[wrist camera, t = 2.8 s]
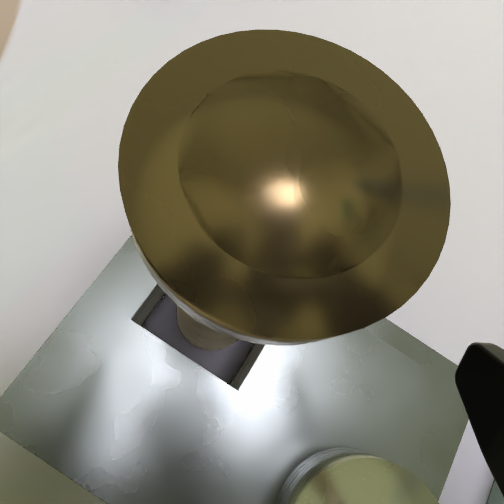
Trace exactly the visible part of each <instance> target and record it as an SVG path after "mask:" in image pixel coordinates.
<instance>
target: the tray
mask: <svg viewBox="0 0 504 504" xmlns="http://www.w3.org/2000/svg"><path fill="white" fill-rule="evenodd" d="M487 504H504V497H503V495H502V493H501V491H500V489H499V487H498V485H497V483H496V481H494V484H493V487H492V490H491V493H490V496H489V499H488V502H487Z"/></svg>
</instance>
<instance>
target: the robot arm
mask: <svg viewBox="0 0 504 504" xmlns="http://www.w3.org/2000/svg"><path fill="white" fill-rule="evenodd" d="M455 384H456V387H457V389H458V392H459V395H460V397H461V400H462V402H463V405H464V407H465V410H466V413H467V415H468V418H469V420H470V423H471V426H472V428H473V431H474V433H475V436H476V439H477V441H478V444H479V446H480V449H481V451H482V453H483V456H484V458H485V460H486V462H487V464H488V467H489V469H490V471H491V473H492V475H493V477H494V479H495V481H496V483H497V485H498V487H499V489H500V491H501V493H502V495H503V497H504V349H502V348H500V347H498V346H497V345H494V344H491V343H477V342H476V343H472V344H471V345H469V346H468V348H467V350H466V352H465V354H464V356H463V358H462V359H461V361H460V363H459V365H458V367H457V369H456V372H455Z"/></svg>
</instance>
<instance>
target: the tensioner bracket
mask: <svg viewBox="0 0 504 504" xmlns="http://www.w3.org/2000/svg"><path fill="white" fill-rule="evenodd" d="M164 293H165V292H164V291H163V290H162V289H161V287H160V286H159V285H158V284H157V282H156V281H155V280H154V278H153V277H152V276H151V274H150V272H149V271H148V269H147V267H146V265H145V263H144V262H143V260H142V258H141V256H140V254H139V251H138V248H137V246H136V243H135V241H134V238H133V235H131V237H130V238H129V239H128V240H127V241H126V243H125V244H124V245H123V246H122V248H121V249H120V250H119V251H118V253H117V254H116V255H115V256H114V258H113V259H112V260H111V261H110V263H109V264H108V265H107V266H106V267H105V269H104V270H103V271H102V272H101V274H100V275H99V276H98V277H97V279H96V280H95V281H94V282H93V284H92V285H91V286H90V287H89V289H88V290H87V291H86V292H85V294H84V295H83V296H82V297H81V298H80V300H79V301H78V302H77V303H76V305H75V306H74V307H73V308H72V310H71V311H70V312H69V313H68V315H67V316H66V317H65V318H64V320H63V321H62V322H61V323H60V324H59V326H58V327H57V328H56V329H55V331H54V332H53V333H52V334H51V336H50V337H49V338H48V339H47V341H46V342H45V343H44V344H43V346H42V347H41V348H40V349H39V350H38V352H37V353H36V354H35V355H34V357H33V358H32V359H31V360H30V362H29V363H28V364H27V365H26V367H25V368H24V369H23V370H22V372H21V373H20V374H19V375H18V377H17V378H16V379H15V380H14V381H13V383H12V384H11V385H10V386H9V388H8V389H7V390H6V391H5V393H4V394H3V395H2V396H1V398H0V432H2V433H3V434H5V435H6V436H8V437H9V438H11V439H12V440H14V441H15V442H17V443H18V444H20V445H21V446H23V447H24V448H26V449H27V450H28V451H30V452H31V453H33V454H34V455H36V456H37V457H39V458H40V459H42V460H43V461H45V462H46V463H48V464H49V465H51V466H52V467H54V468H55V469H57V470H58V471H60V472H61V473H63V474H64V475H66V476H67V477H69V478H70V479H71V480H73V481H74V482H76V483H77V484H79V485H80V486H82V487H83V488H85V489H86V490H88V491H89V492H91V493H92V494H94V495H95V496H97V497H98V498H100V499H101V500H103V501H104V502H106V503H107V504H439V503H438V500H439V497H440V495H441V492H442V489H443V487H444V484H445V481H446V479H447V476H448V473H449V471H450V468H451V465H452V462H453V460H454V457H455V454H456V452H457V449H458V446H459V444H460V441H461V438H462V436H463V433H464V430H465V428H466V425H467V422H468V419H469V418H468V415H467V413H466V410H465V407H464V405H463V402H462V400H461V397H460V395H459V392H458V389H457V387H456V384H455V372H456V369H457V367H458V366H457V365H456V364H454V363H453V362H451V361H450V360H448V359H447V358H445V357H444V356H442V355H441V354H439V353H438V352H436V351H435V350H433V349H432V348H430V347H428V346H427V345H425V344H424V343H422V342H421V341H419V340H418V339H416V338H415V337H413V336H412V335H410V334H409V333H407V332H406V331H404V330H403V329H401V328H400V327H398V326H396V325H395V324H393V323H392V322H390V321H389V320H387V319H386V318H384V319H382V320H380V321H378V322H376V323H374V324H372V325H369V326H367V327H365V328H363V329H360V330H356V331H353V332H350V333H347V334H344V335H340V336H336V337H332V338H329V339H325V340H321V341H317V342H313V343H306V344H300V345H283V346H274V345H265V344H257V343H255V345H254V346H253V348H252V350H251V351H250V353H249V354H248V356H247V358H246V359H245V361H244V363H243V364H242V366H241V368H240V369H239V371H238V373H237V374H236V376H235V378H234V379H233V381H232V383H231V384H230V385H228V384H227V383H225V382H224V381H222V380H221V379H219V378H218V377H216V376H215V375H213V374H212V373H210V372H209V371H207V370H206V369H204V368H203V367H201V366H200V365H198V364H197V363H195V362H194V361H192V360H191V359H189V358H188V357H186V356H185V355H183V354H182V353H180V352H179V351H177V350H176V349H174V348H173V347H171V346H170V345H168V344H167V343H165V342H164V341H162V340H161V339H159V338H158V337H156V336H155V335H153V334H152V333H150V332H149V331H147V330H146V329H144V328H143V327H141V325H142V324H143V322H144V321H145V320H146V318H147V317H148V315H149V314H150V313H151V311H152V310H153V309H154V307H155V306H156V304H157V303H158V302H159V300H160V299H161V298H162V296H163V295H164Z"/></svg>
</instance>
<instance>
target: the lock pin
mask: <svg viewBox="0 0 504 504" xmlns="http://www.w3.org/2000/svg"><path fill="white" fill-rule="evenodd" d="M118 171H119V184H120V191H121V195H122V200H123V204H124V208H125V212H126V215H127V219H128V222H129V225H130V228H131V232H132V235H133V238H134V241H135V243H136V246H137V248H138V251H139V254H140V256H141V258H142V260H143V262H144V263H145V265H146V267H147V269H148V271H149V272H150V274H151V276H152V277H153V278H154V280H155V281H156V282H157V284H158V285H159V286H160V287H161V289H162V290H163V291H164V292H165V293H166V294H167V295H168V296H169V297H170V298H171V299H172V300H173V301H174V302H175V303H176V304H177V321H178V325H179V328H180V330H181V332H182V334H183V335H184V337H185V338H186V339H187V340H188V341H189V342H190V343H191V344H193V345H195V346H196V347H199V348H201V349H205V350H219V349H223V348H226V347H228V346H230V345H231V344H233V343H234V342H236V341H238V340H239V339H240V340H244V341H248V342H251V343H257V344H265V345H274V346H283V345H300V344H306V343H313V342H317V341H321V340H325V339H329V338H332V337H336V336H340V335H344V334H347V333H350V332H353V331H356V330H360V329H363V328H365V327H367V326H369V325H372V324H374V323H376V322H378V321H380V320H382V319H384V318H385V317H387V316H388V315H390V314H391V313H393V312H394V311H396V310H397V309H398V308H400V307H401V306H402V305H403V304H405V303H406V302H407V301H408V300H409V299H410V298H411V297H412V296H413V295H414V294H415V293H416V292H417V291H418V290H419V288H420V287H421V286H422V284H423V283H424V282H425V281H426V279H427V278H428V277H429V275H430V273H431V271H432V270H433V268H434V266H435V264H436V263H437V261H438V259H439V256H440V253H441V251H442V248H443V245H444V243H445V239H446V235H447V230H448V226H449V217H450V205H451V203H450V186H449V180H448V175H447V169H446V165H445V162H444V159H443V155H442V152H441V149H440V147H439V144H438V142H437V140H436V138H435V136H434V133H433V131H432V129H431V128H430V126H429V124H428V123H427V121H426V119H425V118H424V116H423V114H422V113H421V111H420V110H419V109H418V107H417V106H416V105H415V103H414V102H413V101H412V99H411V98H410V97H409V96H408V95H407V94H406V93H405V92H404V91H403V90H402V89H401V87H400V86H399V85H398V84H397V83H395V82H394V81H393V80H392V79H391V78H390V77H389V76H388V75H386V74H385V73H384V72H383V71H382V70H380V69H379V68H377V67H376V66H375V65H373V64H372V63H370V62H369V61H368V60H366V59H364V58H362V57H361V56H359V55H357V54H356V53H354V52H352V51H350V50H348V49H346V48H344V47H341V46H339V45H337V44H335V43H332V42H329V41H326V40H323V39H320V38H318V37H315V36H310V35H306V34H301V33H297V32H290V31H281V30H249V31H239V32H234V33H229V34H225V35H220V36H217V37H214V38H211V39H208V40H206V41H203V42H200V43H198V44H196V45H194V46H192V47H190V48H188V49H186V50H184V51H183V52H181V53H180V54H178V55H177V56H176V57H174V58H173V59H171V60H170V61H168V62H167V63H166V64H165V65H164V66H163V67H162V68H161V69H160V70H158V71H157V72H156V73H155V74H154V75H153V76H152V78H151V79H150V80H149V81H148V83H147V84H146V85H145V86H144V87H143V89H142V90H141V92H140V93H139V95H138V97H137V99H136V100H135V102H134V104H133V105H132V107H131V110H130V112H129V115H128V117H127V120H126V122H125V125H124V129H123V133H122V137H121V142H120V148H119V162H118Z"/></svg>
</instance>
